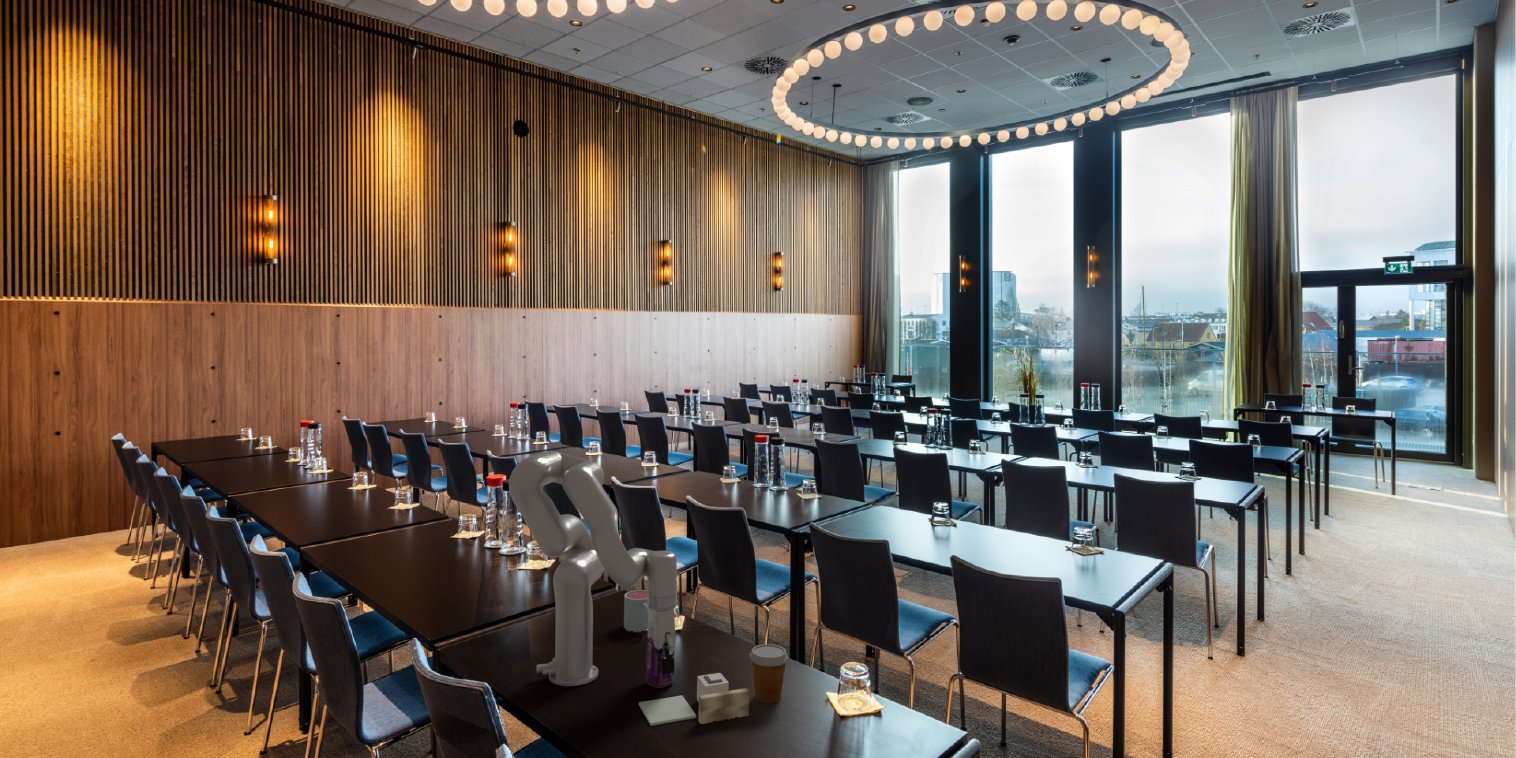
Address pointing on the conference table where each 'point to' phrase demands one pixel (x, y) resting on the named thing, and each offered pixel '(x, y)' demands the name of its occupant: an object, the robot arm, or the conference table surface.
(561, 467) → the robot arm
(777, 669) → the disposable coffee cup
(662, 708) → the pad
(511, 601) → the conference table surface
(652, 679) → the beverage can
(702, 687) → the letter block
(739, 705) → the birch screen
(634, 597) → the mug
